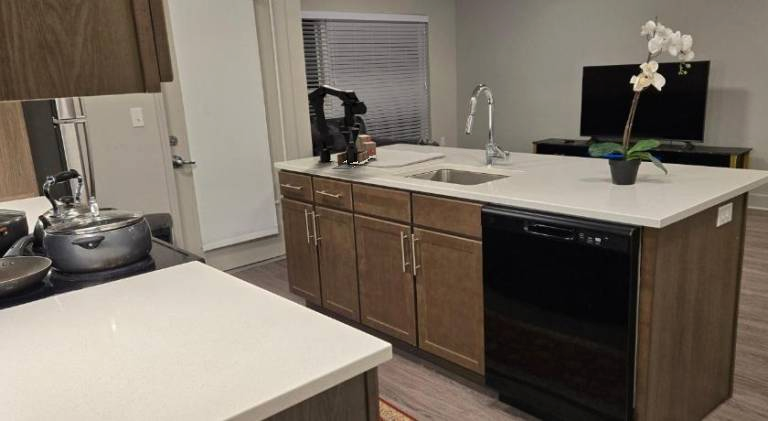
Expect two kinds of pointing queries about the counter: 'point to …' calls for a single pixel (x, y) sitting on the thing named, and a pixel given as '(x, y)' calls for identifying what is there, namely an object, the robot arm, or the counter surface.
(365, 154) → the open box
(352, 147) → the supplement bottle
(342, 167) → the mat
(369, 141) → the stack of blocks
